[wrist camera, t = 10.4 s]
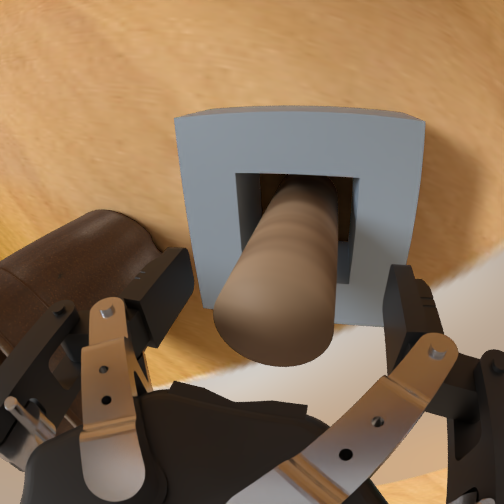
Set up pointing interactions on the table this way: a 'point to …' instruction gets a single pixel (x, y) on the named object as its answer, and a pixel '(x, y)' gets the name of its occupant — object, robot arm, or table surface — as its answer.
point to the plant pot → (70, 278)
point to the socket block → (307, 163)
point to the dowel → (285, 278)
